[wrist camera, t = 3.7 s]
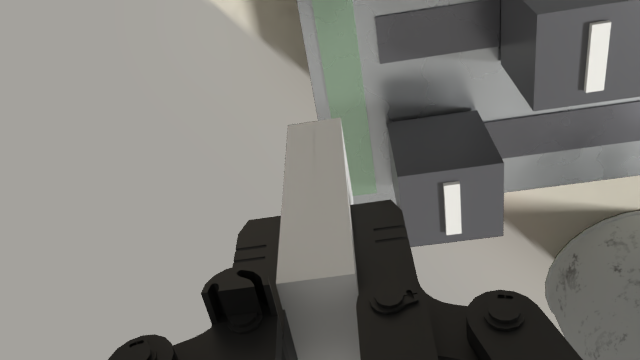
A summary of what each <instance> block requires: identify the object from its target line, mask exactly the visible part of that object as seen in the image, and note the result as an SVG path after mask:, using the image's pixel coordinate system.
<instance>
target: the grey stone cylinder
mask: <svg viewBox="0 0 640 360" xmlns="http://www.w3.org/2000/svg"><path fill="white" fill-rule="evenodd" d="M545 296H546V299H547V302H548V305H549V308H550V310H551V311H552V312H553V314H554V315H555V317H556V319H557V321H558V323H559V326H560V328H561V330H562V332H563V334H564V337H565V339H566V340H567V341H568V342H569V344H570V345H571V346H572V347H573V348H574V350H575V351H576V352H577V353H578V354H579V356H580V357H581V358H582V359H583V360H640V210H639V211H633V212H627V213H623V214H620V215H617V216H614V217H611V218H608V219H605V220H603V221H601V222H599V223H597V224H595V225H593V226H591V227H589V228H587V229H585V230H584V231H583V232H581V233H580V234H579V235H578V236H576V237H575V238H574V239H572V240H571V241H570V242H569V243H568V244H567V245H566V246H565V247H564V248H563V249H562V250H561V251H560V252H559V254H558V255H557V256H556V258H555V260H554V262H553V263H552V265H551V267H550V268H549V272H548V275H547V278H546V282H545Z"/></svg>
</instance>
